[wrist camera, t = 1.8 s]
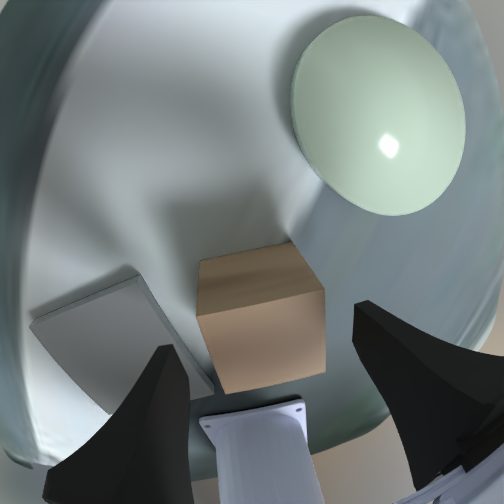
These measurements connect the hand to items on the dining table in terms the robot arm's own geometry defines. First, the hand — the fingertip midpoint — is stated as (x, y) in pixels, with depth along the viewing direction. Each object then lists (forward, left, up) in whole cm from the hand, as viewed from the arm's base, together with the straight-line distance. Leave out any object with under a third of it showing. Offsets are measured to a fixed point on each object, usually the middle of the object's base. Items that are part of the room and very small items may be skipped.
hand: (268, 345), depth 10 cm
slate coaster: (-3, +9, -4) cm, 10 cm away
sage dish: (+8, -8, -4) cm, 12 cm away
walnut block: (0, 0, -4) cm, 4 cm away
